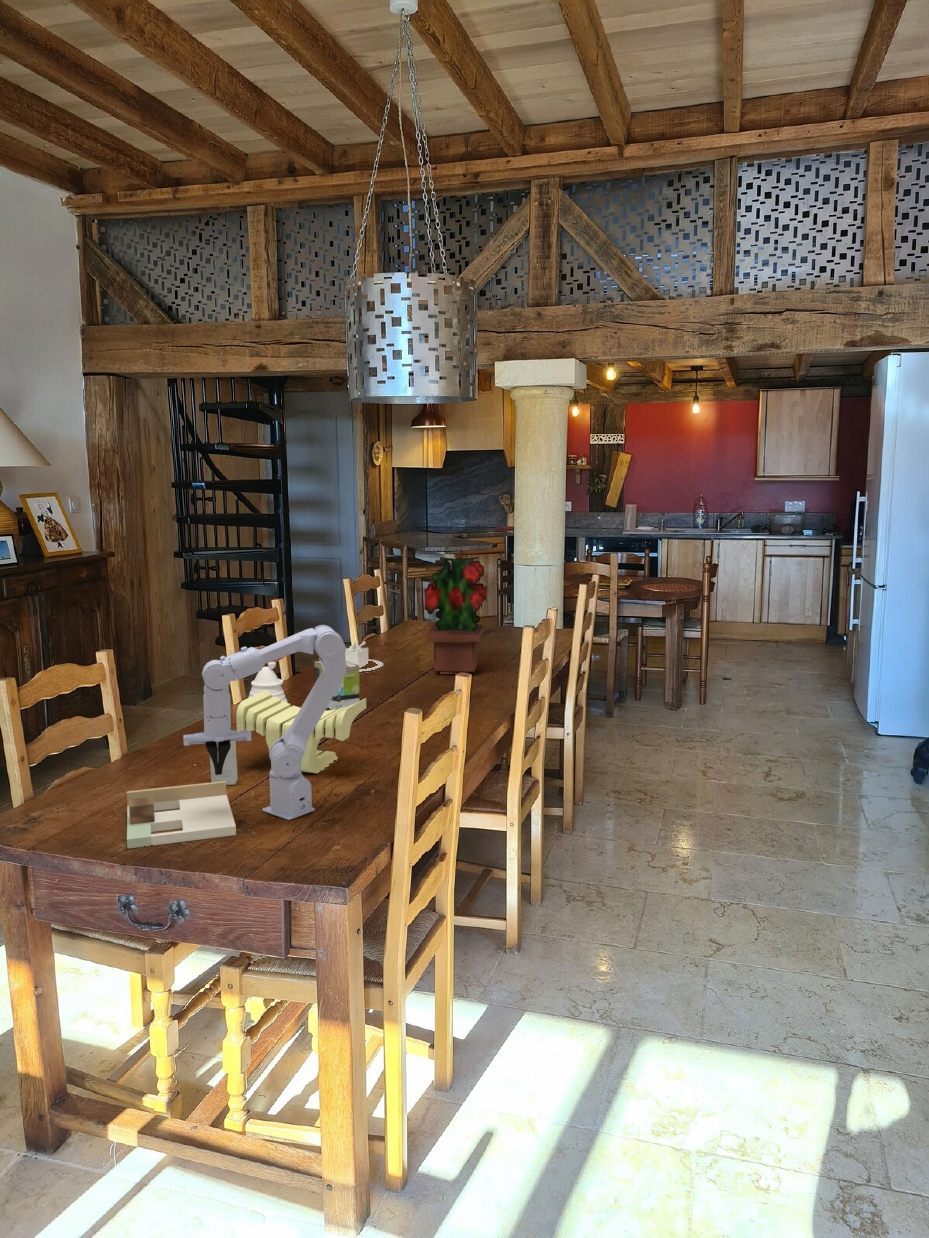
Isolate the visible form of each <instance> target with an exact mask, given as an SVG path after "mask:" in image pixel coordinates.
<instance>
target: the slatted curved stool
mask: <svg viewBox="0 0 929 1238" xmlns="http://www.w3.org/2000/svg"><path fill="white" fill-rule="evenodd" d="M287 702H288V701H287ZM287 702H282V703H281V699H279V698H277V697H275V696H274V697H272V694H270V693H269V692H267V691H266V690H265V691H263V692H261V693H258V694H256V695H254V696H252V697H250V698H245V699H244V700H242V701H240V703H239V704H238V706H237V709H236V714H235V715H236V717H235V719H236V721H235V722H236V731H248V730H250V731H251V732H254V731H255V733H258V734H259V735H261V736H262V737H264V736H265V742H266V745H267V747H268V751H269V750H270V748H271V746H272V745H273V744H274V743H275V742H277V741H278V740H279V739H280V738H281V737H282V735H283V734H284V733H285V732H286V731H287V730H288V729H289V728H290V726H291V724H292V723H293V721H294V719H295V718H296V716H297V714H298V712H299V711H300V709H301V707H299V706H296V705H292V706H291V703H287ZM366 709H367V698H366V697H365V698H363V699H361V700H360V701H359V702H357V703H354V704H352V705H350V706H348V707H343V708H340V709H339V710H337V709H335V710H331V709H328V710H325V711H324V713H323V715H322V716H321V718H320V720H319V722H318V723H317V725H316V727H315V729H314V730H313V732H312V734H311V736H310V737H309V739H308V741H307V745H306V750H305V753H304V755H303V757H302V760H301V773H302V772H303V773H310V774H319V772H320V771H321V770H322V771H324V770H325V769H326V768H325V767H327V768H328V767H330V765H329V764H330V763H332V764H333V763H334V762H333V761H334V760H336V761H338V760H339V758H338V755H337V753H336V752H335V751H328V750H325V751H324V750H318V749H317V748H318V745H319V743H320V741H321V739H323V738H326V739H327V738H328V739H333V738H335V739H336V740H339V741H341V742H344V741H345V740H347V739H348V738H349V737H350V733H351V728H352V724H353V721H354V720H355V719H356V718H357V716H358V715H359V714H360V713H361V712H363V711H364V710H366ZM337 759H338V760H337ZM270 764H271V767H270V769H272V767H273V763H272V762H271V761H270ZM324 768H325V769H324ZM322 771H321V772H322ZM321 772H320V773H321Z"/></svg>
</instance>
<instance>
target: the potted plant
mask: <svg viewBox="0 0 929 1238" xmlns="http://www.w3.org/2000/svg"><path fill="white" fill-rule="evenodd" d="M479 558H481V557H480V556H477V557H475V556H474V557H465V558H464V557H463V558H452V557H451V558H450V557H445V556H444V557H443V556H442V557H441V556H439V559H436V560H435V561H434V562H435V566H436V567H441V568H439V569H437V571H436V572H434V573H433V574H432V575H431V580H432V582H431V583H428V585H427V587H426V588H424V590H423V591H424V594H423V596H424V605H423V607H424V610H425V611H427V614H428V615H432V614H434V611H435V610H437V611H436V612H435V614H434V615H435V617H436V618H437V619H438V620H436V621H435V623H434V624H433V625H432V627H431V628H430V629H429V630H428V632H427V635H428V639H427V642H428V643H433V670H434V672H437V671H438V672H439V673H440V672H449V673H450V672H452V673H454V672H455V673H459V672H466V673H470V672H471V673H472V672H474V673H475V670H476V668H477V666H478V664H479V663H478V657H479V656H478V655H479V654H478V648H479V647H478V644H480V642H481V639H482V636H483V634H484V624H478V623H479V622H480V620H481V617H480V615H477V612H478V611H479V610H480V609H481V610H483V603H484V601H485V602H487V597H488V595H487V590H488V589H487V588H488V587H487V583H486V584H485V586H484V584H483V583H481V582H480V581H481V578H482V577H483V576H484V574H485V567H484V565H482V564H481V562H480V560H478V559H479ZM476 559H477V560H476ZM479 582H480V583H479ZM455 673H454V674H455ZM471 673H470V674H471Z"/></svg>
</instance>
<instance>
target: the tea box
mask: <svg viewBox="0 0 929 1238" xmlns="http://www.w3.org/2000/svg"><path fill="white" fill-rule="evenodd" d="M313 670H314V684H315V683H316V681H317V679H318V678H319V676H320V674H321V672H322V670H323V669H322V666H321V663H320V660H317V661H316V660H315V661H314V668H313ZM359 701H361V700H360V673H359V665H357V664H353V663H350V662H347V661H346V674H345V676H344V678H343V680H342V682H341V683H340V685H339V687H338V689H337V690H336V692H335V694H334V696H333V697H332V699H331V701H330V703H329V704H328V706H327V708H326V709H328V708H329V709H328V710H335V709H337V710H339V709H340V708H343V707H348V706H350V705H352V704H354V703H357V702H359Z"/></svg>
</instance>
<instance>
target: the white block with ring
mask: <svg viewBox="0 0 929 1238" xmlns="http://www.w3.org/2000/svg"><path fill="white" fill-rule="evenodd" d="M366 643H367V642H366V641H365V640H364V641H362V642H361V643H360V644H359V645H358V644H357V643H356V642H355V641H354V643H353V644H352V645H350V646H349V647H346V653H345V659H346V661H347V662H350V663H353V664H357V665H359V668H361V667H363V666H365V665H366V664H368V661H373V662H375V663H376V664H378V665H377V666H375V667H372V668H367V669H359V672H362V671H371V670H375V669H377V668H380V667H382V666H383V667H384V663H383V662H382V661H380V660H376V659H370V658H369V647H362V646H364V645H365V644H366Z"/></svg>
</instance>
